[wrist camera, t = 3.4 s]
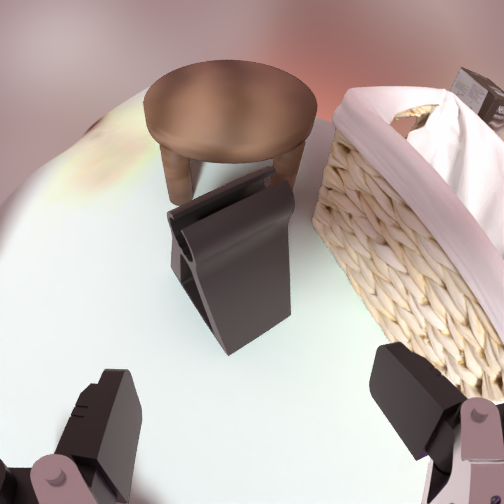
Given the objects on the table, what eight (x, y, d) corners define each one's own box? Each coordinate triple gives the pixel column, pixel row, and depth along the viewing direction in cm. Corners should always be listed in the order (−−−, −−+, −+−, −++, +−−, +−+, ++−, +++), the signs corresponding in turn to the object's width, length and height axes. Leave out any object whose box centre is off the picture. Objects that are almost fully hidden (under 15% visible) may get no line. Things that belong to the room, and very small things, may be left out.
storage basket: (291, 214, 29) (331, 80, 16) (396, 177, 34) (446, 83, 21) (421, 426, 19) (561, 403, 7) (502, 332, 24) (595, 274, 11)
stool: (149, 222, 27) (128, 151, 19) (163, 123, 35) (156, 64, 27) (313, 214, 29) (340, 146, 22) (284, 120, 37) (295, 62, 29)
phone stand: (289, 317, 24) (340, 236, 14) (227, 357, 22) (229, 303, 11) (230, 236, 27) (235, 128, 17) (171, 267, 25) (141, 165, 15)
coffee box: (439, 186, 34) (496, 97, 20) (413, 153, 37) (459, 65, 23) (469, 179, 36) (519, 106, 23) (446, 151, 39) (488, 77, 26)
